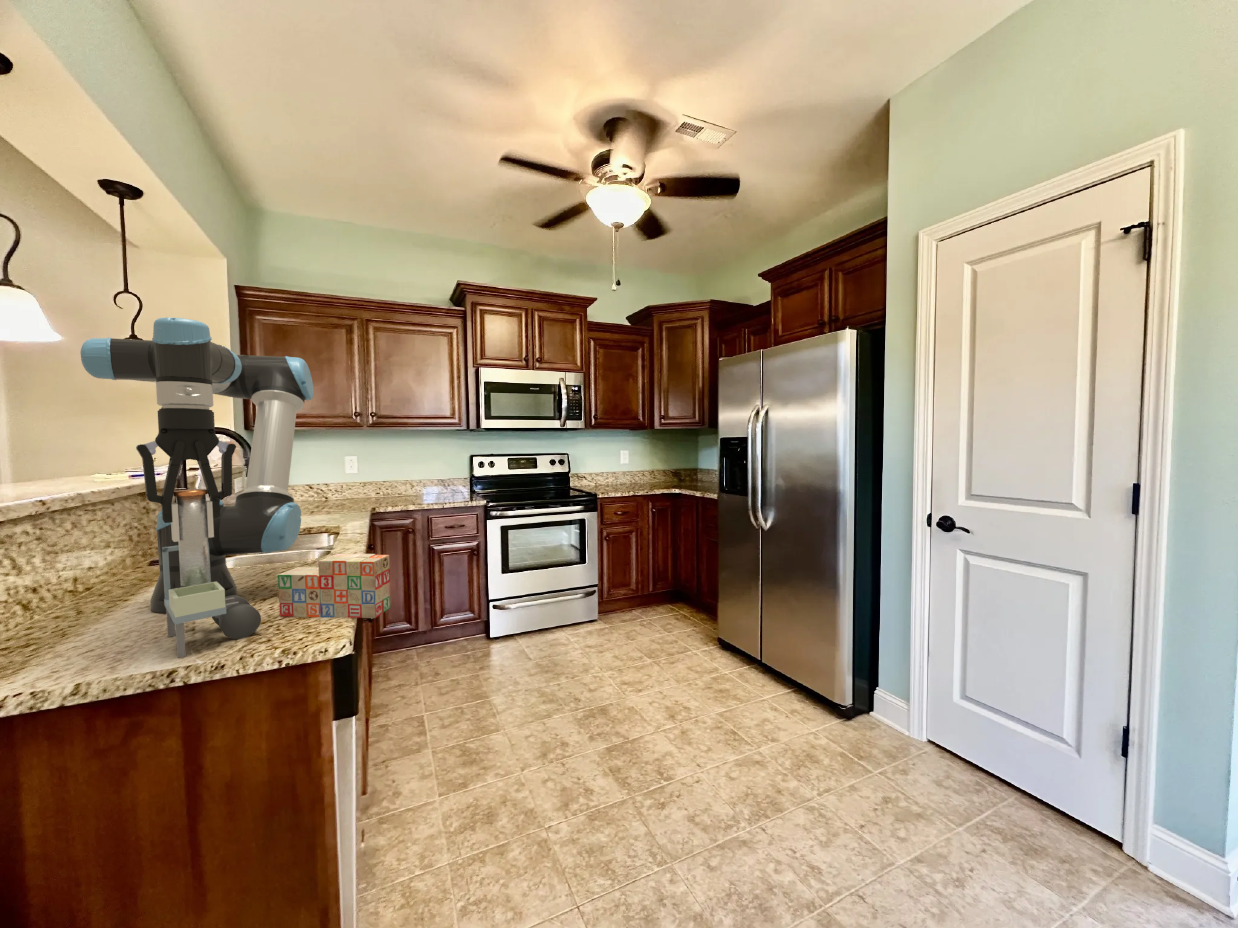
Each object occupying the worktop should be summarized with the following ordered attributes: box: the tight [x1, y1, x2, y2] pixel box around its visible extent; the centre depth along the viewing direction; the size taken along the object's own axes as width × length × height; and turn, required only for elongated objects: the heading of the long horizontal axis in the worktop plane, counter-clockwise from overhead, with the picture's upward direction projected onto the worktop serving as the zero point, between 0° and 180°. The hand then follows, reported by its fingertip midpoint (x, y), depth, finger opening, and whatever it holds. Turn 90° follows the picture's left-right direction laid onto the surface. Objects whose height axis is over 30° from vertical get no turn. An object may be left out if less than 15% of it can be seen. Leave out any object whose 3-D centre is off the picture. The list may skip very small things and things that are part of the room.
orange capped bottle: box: [173, 488, 210, 586], centre depth 87 cm, size 5×5×17 cm
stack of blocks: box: [277, 553, 391, 619], centre depth 105 cm, size 21×6×12 cm, turn 87°
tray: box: [169, 581, 225, 618], centre depth 88 cm, size 8×7×3 cm
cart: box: [162, 542, 262, 659], centre depth 93 cm, size 15×12×17 cm
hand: (193, 538), depth 87 cm, fingers closed on orange capped bottle, 4 cm apart
